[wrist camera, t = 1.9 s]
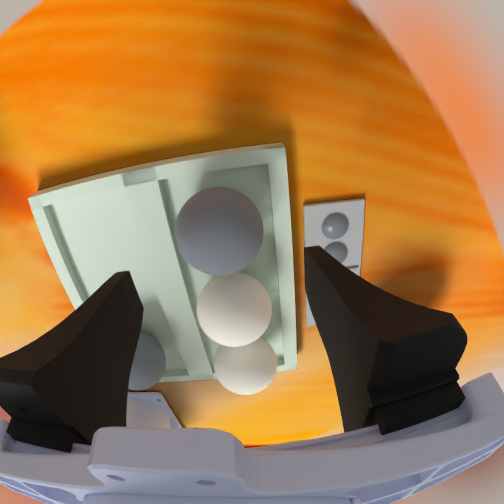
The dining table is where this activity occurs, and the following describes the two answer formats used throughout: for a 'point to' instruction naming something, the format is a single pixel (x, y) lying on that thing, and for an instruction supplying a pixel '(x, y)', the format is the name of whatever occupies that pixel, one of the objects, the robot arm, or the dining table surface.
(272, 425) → the dining table surface
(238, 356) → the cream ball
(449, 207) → the dining table surface
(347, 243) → the card
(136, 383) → the charcoal ball back
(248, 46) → the dining table surface
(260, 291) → the cream ball middle
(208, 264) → the charcoal ball front
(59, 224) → the rack
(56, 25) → the dining table surface
